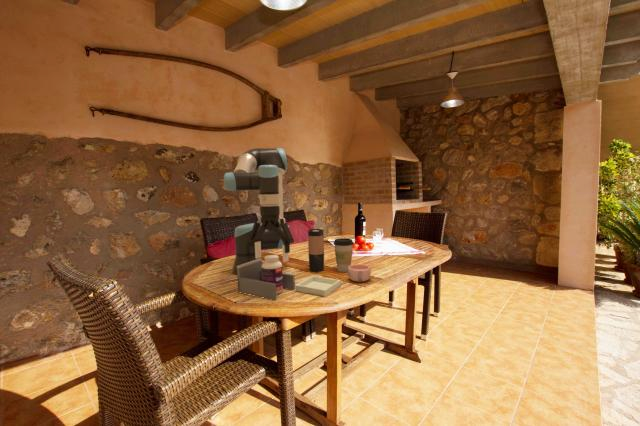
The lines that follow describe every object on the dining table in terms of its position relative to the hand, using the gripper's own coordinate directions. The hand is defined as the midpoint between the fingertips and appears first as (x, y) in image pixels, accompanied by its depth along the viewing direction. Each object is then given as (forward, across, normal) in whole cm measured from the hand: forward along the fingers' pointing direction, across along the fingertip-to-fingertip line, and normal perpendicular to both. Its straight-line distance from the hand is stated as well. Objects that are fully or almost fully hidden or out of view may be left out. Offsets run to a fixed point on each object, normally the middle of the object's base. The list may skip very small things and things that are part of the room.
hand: (271, 259), depth 119 cm
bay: (+13, -3, 0) cm, 14 cm away
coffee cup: (+13, +12, +40) cm, 44 cm away
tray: (+13, +14, +12) cm, 23 cm away
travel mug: (+13, 0, +34) cm, 37 cm away
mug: (+13, +24, +30) cm, 41 cm away
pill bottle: (+14, 0, 0) cm, 14 cm away
